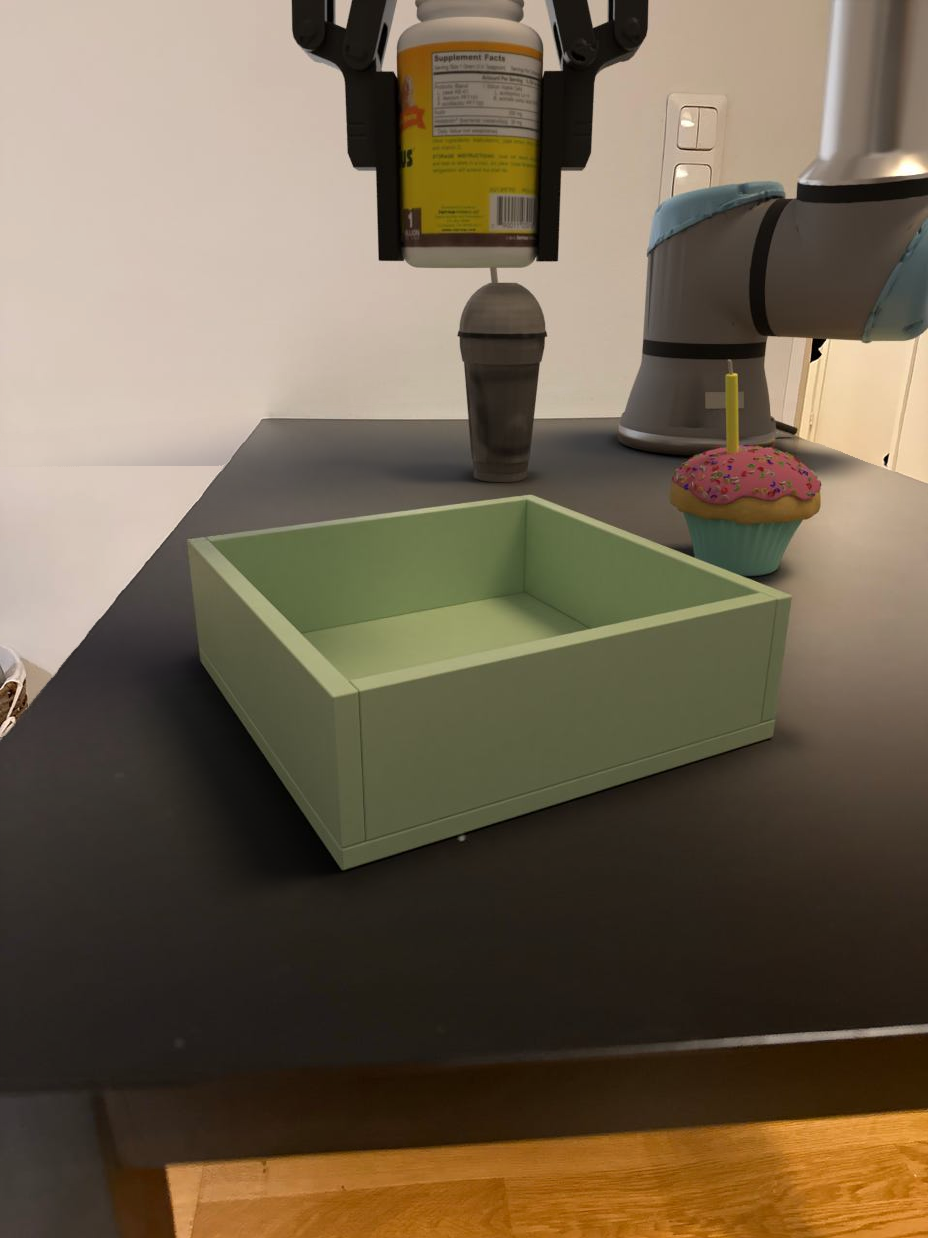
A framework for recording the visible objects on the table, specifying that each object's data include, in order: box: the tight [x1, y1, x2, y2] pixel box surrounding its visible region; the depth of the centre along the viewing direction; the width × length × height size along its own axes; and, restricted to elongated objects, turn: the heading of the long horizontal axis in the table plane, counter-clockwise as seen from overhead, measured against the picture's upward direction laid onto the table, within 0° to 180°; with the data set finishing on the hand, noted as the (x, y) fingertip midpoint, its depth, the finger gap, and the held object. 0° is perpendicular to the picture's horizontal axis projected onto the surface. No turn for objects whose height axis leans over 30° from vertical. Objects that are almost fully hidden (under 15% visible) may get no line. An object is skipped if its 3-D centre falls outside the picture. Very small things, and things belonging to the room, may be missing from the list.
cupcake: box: [669, 360, 822, 577], centre depth 53 cm, size 9×8×12 cm
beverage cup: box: [456, 268, 548, 483], centre depth 75 cm, size 7×7×20 cm
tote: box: [186, 494, 793, 871], centre depth 38 cm, size 18×18×6 cm
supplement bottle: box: [396, 0, 544, 269], centre depth 36 cm, size 6×6×10 cm
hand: (468, 259), depth 37 cm, fingers closed on supplement bottle, 6 cm apart
